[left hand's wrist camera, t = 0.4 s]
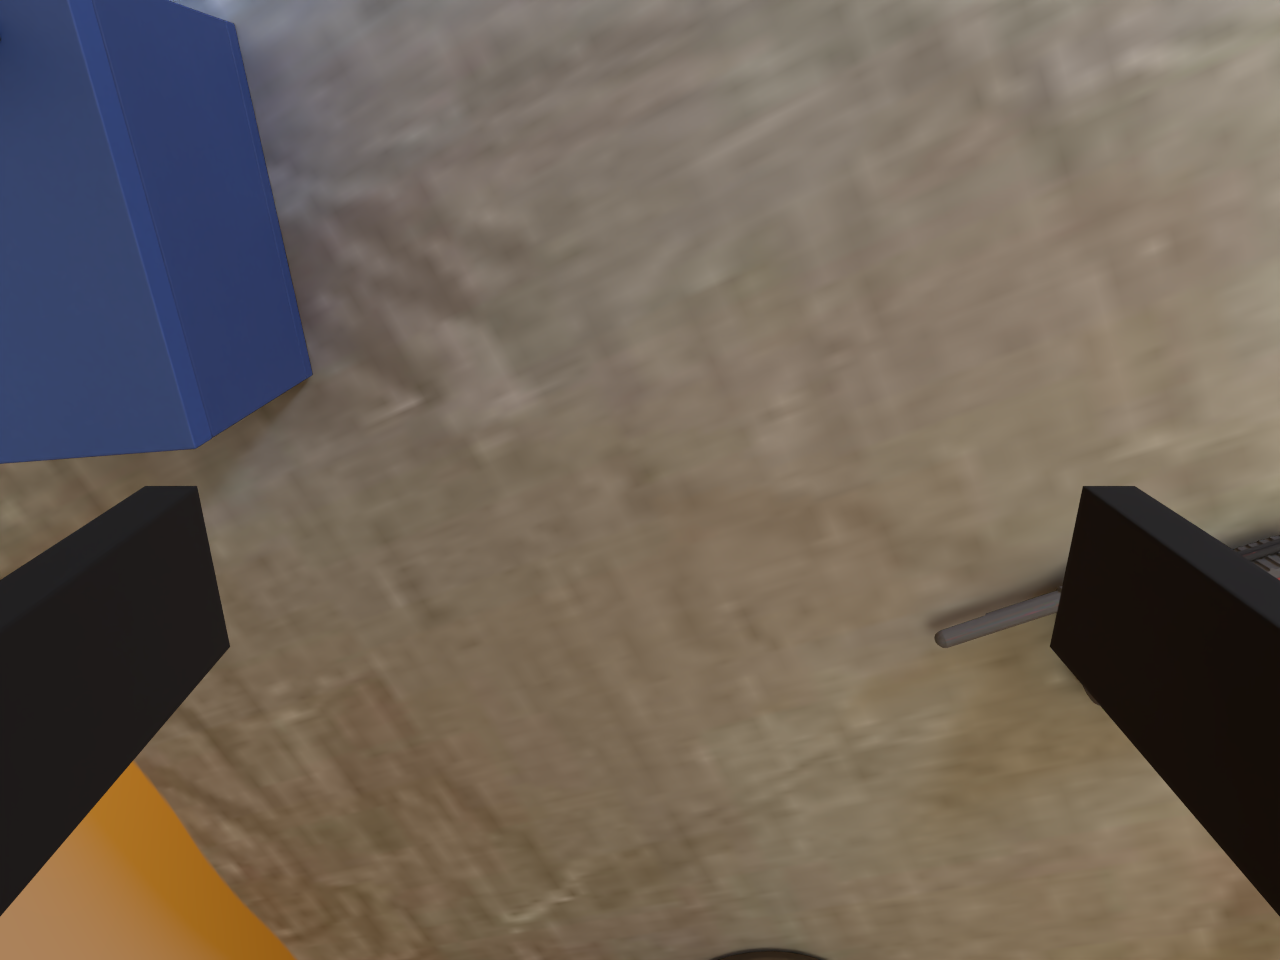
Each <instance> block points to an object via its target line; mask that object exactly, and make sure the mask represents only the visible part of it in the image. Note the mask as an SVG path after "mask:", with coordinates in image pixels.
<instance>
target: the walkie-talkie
mask: <svg viewBox="0 0 1280 960" xmlns="http://www.w3.org/2000/svg"><path fill="white" fill-rule="evenodd" d="M1234 551H1235V552H1237V553H1239V554H1240V555H1242V556H1243V557H1245V558H1246V559H1248V560H1249V561H1251V562H1252V563H1254V564H1256V565H1257V566H1259V567H1260V568H1262V569H1263V570H1265V571H1266V572H1268V573H1269V574H1271V575H1272V576H1274V577H1276V578H1277V579H1279V580H1280V534H1279V535H1277V536H1274V537H1273V536H1272V537H1269V538H1268V539H1265V540H1260V541H1258V542H1256V543H1253V544H1248V545H1246V546H1243V547H1238V548H1236V549H1234ZM1061 591H1062V586H1060V587H1058V588H1057V590H1056V591H1054V592H1051V593H1048V594H1045V595H1042V596H1038V597H1035V598H1032V599H1029V600H1026V601H1023V602H1020V603H1017V604H1014V605H1011V606H1008V607H1005V608H1001V609H998V610H995V611H992V612H989V613H986V615H985V616H982V617H979V618H976V619H973V620H970V621H967V622H964V623H961V624H958V625H955V626H952V627H949V628H946V629H943V630H941V631H939V632H937V633H936V634H935V641H936V643H937V644H938V645H939V646H941V647H942V648H948V647H951V646H955V645H958V644H961V643H964V642H967V641H970V640H973V639H976V638H979V637H982V636H985V635H988V634H992V633H995V632H998V631H1001V630H1004V629H1007V628H1010V627H1013V626H1016V625H1019V624H1022V623H1026V622H1029V621H1032V620H1035V619H1038V618H1041V617H1044V616H1047V615H1050V614H1053V613H1056V612H1057V610H1058V605H1059V600H1060V596H1061ZM1083 687H1084V686H1083ZM1084 689H1085V691H1086V693H1087V695H1088V696H1089V698H1090V699H1091V700H1092V701H1093V702H1094V703H1095V704H1097V705H1099V704H1098V702H1097V701H1096V700H1095V699H1094V698H1093V697H1092V695H1091V694H1090V693H1089V692H1088V691H1087V689H1086V688H1085V687H1084ZM1099 706H1100V705H1099Z"/></svg>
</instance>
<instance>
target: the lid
mask: <svg viewBox="0 0 1280 960" xmlns="http://www.w3.org/2000/svg"><path fill="white" fill-rule="evenodd" d="M210 439H212V436H211V432H210V429H209V425H208V421H207V418H206V414H205V410H204V407H203V403H202V400H201V396H200V392H199V389H198V385H197V381H196V378H195V374H194V370H193V367H192V363H191V360H190V356H189V352H188V349H187V345H186V341H185V338H184V334H183V330H182V327H181V323H180V320H179V316H178V312H177V309H176V305H175V301H174V298H173V294H172V291H171V287H170V283H169V280H168V276H167V272H166V269H165V265H164V261H163V258H162V254H161V251H160V247H159V243H158V240H157V236H156V232H155V229H154V225H153V221H152V218H151V214H150V211H149V207H148V203H147V200H146V196H145V192H144V189H143V185H142V182H141V178H140V174H139V171H138V167H137V163H136V160H135V156H134V152H133V149H132V145H131V142H130V138H129V134H128V131H127V127H126V123H125V120H124V116H123V112H122V109H121V105H120V102H119V98H118V94H117V91H116V87H115V83H114V80H113V76H112V72H111V69H110V65H109V62H108V58H107V54H106V51H105V47H104V43H103V40H102V36H101V33H100V29H99V25H98V22H97V18H96V14H95V11H94V7H93V3H92V0H0V464H3V463H16V462H30V461H43V460H56V459H69V458H82V457H95V456H108V455H121V454H134V453H147V452H160V451H173V450H186V449H196V448H197V447H199V446H201V445H202V444H204V443H205V442H207V441H209V440H210Z"/></svg>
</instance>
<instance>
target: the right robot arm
mask: <svg viewBox="0 0 1280 960" xmlns="http://www.w3.org/2000/svg"><path fill="white" fill-rule="evenodd" d="M719 960H819V959H816V958H813V957H810V956H806V955H801V954H796V953H789V952H775V951H764V952H751V953H743V954H738V955H733V956H729V957H726V958H722V959H719Z"/></svg>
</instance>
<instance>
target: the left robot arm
mask: <svg viewBox="0 0 1280 960" xmlns="http://www.w3.org/2000/svg"><path fill="white" fill-rule="evenodd" d="M229 647H230V644H229V639H228V634H227V630H226V625H225V620H224V615H223V610H222V605H221V601H220V596H219V591H218V586H217V581H216V576H215V571H214V567H213V562H212V557H211V552H210V547H209V542H208V537H207V533H206V528H205V523H204V518H203V513H202V508H201V503H200V499H199V494H198V489H197V486H145V487H143V488H142V489H140V490H139V491H137V492H135V493H134V494H132V495H131V496H129V497H128V498H126V499H125V500H123V501H122V502H120V503H119V504H117V505H115V506H114V507H112V508H111V509H109V510H108V511H106V512H105V513H103V514H102V515H100V516H98V517H97V518H95V519H94V520H92V521H91V522H89V523H88V524H86V525H85V526H83V527H82V528H80V529H78V530H77V531H75V532H74V533H72V534H71V535H69V536H68V537H66V538H65V539H63V540H61V541H60V542H58V543H57V544H55V545H54V546H52V547H51V548H49V549H48V550H46V551H45V552H43V553H41V554H40V555H38V556H37V557H35V558H34V559H32V560H31V561H29V562H28V563H26V564H24V565H23V566H21V567H20V568H18V569H17V570H15V571H14V572H12V573H11V574H9V575H8V576H6V577H4V578H3V579H1V580H0V916H1V915H2V914H3V913H4V911H5V910H6V909H7V908H8V907H9V906H10V904H11V903H12V902H13V901H14V900H15V898H16V897H17V896H18V895H19V894H20V893H21V891H22V890H23V889H24V888H25V887H26V886H27V884H28V883H29V882H30V881H31V880H32V878H33V877H34V876H35V875H36V874H37V873H38V871H39V870H40V869H41V868H42V867H43V866H44V864H45V863H46V862H47V861H48V860H49V859H50V857H51V856H52V855H53V854H54V853H55V852H56V850H57V849H58V848H59V847H60V846H61V844H62V843H63V842H64V841H65V840H66V839H67V837H68V836H69V835H70V834H71V833H72V832H73V830H74V829H75V828H76V827H77V826H78V824H79V823H80V822H81V821H82V820H83V819H84V817H85V816H86V815H87V814H88V813H89V812H90V810H91V809H92V808H93V807H94V806H95V805H96V803H97V802H98V801H99V800H100V799H101V797H102V796H103V795H104V794H105V793H106V792H107V790H108V789H109V788H110V787H111V786H112V785H113V783H114V782H115V781H116V780H117V779H118V777H119V776H120V775H121V774H122V773H123V772H124V770H125V769H126V768H127V767H128V766H129V765H130V763H131V762H132V761H133V760H134V759H135V758H136V756H137V755H138V754H139V753H140V752H141V751H142V749H143V748H144V747H145V746H146V745H147V743H148V742H149V741H150V740H151V739H152V738H153V736H154V735H155V734H156V733H157V732H158V731H159V729H160V728H161V727H162V726H163V725H164V724H165V722H166V721H167V720H168V719H169V718H170V716H171V715H172V714H173V713H174V712H175V711H176V709H177V708H178V707H179V706H180V705H181V704H182V702H183V701H184V700H185V699H186V698H187V697H188V695H189V694H190V693H191V692H192V691H193V689H194V688H195V687H196V686H197V685H198V684H199V682H200V681H201V680H202V679H203V678H204V677H205V675H206V674H207V673H208V672H209V671H210V669H211V668H212V667H213V666H214V665H215V664H216V662H217V661H218V660H219V659H220V658H221V657H222V655H223V654H224V653H225V652H226V651H227V650H228V648H229ZM1050 647H1051V648H1052V650H1053V651H1054V652H1055V653H1056V654H1057V655H1058V657H1059V658H1060V659H1061V660H1062V661H1063V662H1064V664H1065V665H1066V666H1067V667H1068V668H1069V669H1070V671H1071V672H1072V673H1073V674H1074V675H1075V677H1076V678H1077V679H1078V680H1079V681H1080V682H1081V684H1082V685H1083V686H1084V687H1085V688H1086V689H1087V691H1088V692H1089V693H1090V694H1091V695H1092V697H1093V698H1094V699H1095V700H1096V701H1097V702H1098V704H1099V705H1100V706H1101V707H1102V708H1103V709H1104V711H1105V712H1106V713H1107V714H1108V715H1109V716H1110V718H1111V719H1112V720H1113V721H1114V722H1115V724H1116V725H1117V726H1118V727H1119V728H1120V729H1121V731H1122V732H1123V733H1124V734H1125V735H1126V736H1127V738H1128V739H1129V740H1130V741H1131V742H1132V743H1133V745H1134V746H1135V747H1136V748H1137V749H1138V751H1139V752H1140V753H1141V754H1142V755H1143V756H1144V758H1145V759H1146V760H1147V761H1148V762H1149V763H1150V765H1151V766H1152V767H1153V768H1154V769H1155V770H1156V772H1157V773H1158V774H1159V775H1160V776H1161V778H1162V779H1163V780H1164V781H1165V782H1166V783H1167V785H1168V786H1169V787H1170V788H1171V789H1172V790H1173V792H1174V793H1175V794H1176V795H1177V796H1178V797H1179V799H1180V800H1181V801H1182V802H1183V803H1184V805H1185V806H1186V807H1187V808H1188V809H1189V810H1190V812H1191V813H1192V814H1193V815H1194V816H1195V817H1196V819H1197V820H1198V821H1199V822H1200V823H1201V825H1202V826H1203V827H1204V828H1205V829H1206V830H1207V832H1208V833H1209V834H1210V835H1211V836H1212V837H1213V839H1214V840H1215V841H1216V842H1217V843H1218V844H1219V846H1220V847H1221V848H1222V849H1223V850H1224V852H1225V853H1226V854H1227V855H1228V856H1229V857H1230V859H1231V860H1232V861H1233V862H1234V863H1235V864H1236V866H1237V867H1238V868H1239V869H1240V870H1241V871H1242V873H1243V874H1244V875H1245V876H1246V877H1247V879H1248V880H1249V881H1250V882H1251V883H1252V884H1253V886H1254V887H1255V888H1256V889H1257V890H1258V891H1259V893H1260V894H1261V895H1262V896H1263V897H1264V898H1265V900H1266V901H1267V902H1268V903H1269V904H1270V906H1271V907H1272V908H1273V909H1274V910H1275V911H1276V913H1277V914H1278V915H1279V916H1280V580H1279V579H1277V578H1276V577H1274V576H1272V575H1271V574H1269V573H1268V572H1266V571H1265V570H1263V569H1262V568H1260V567H1259V566H1257V565H1256V564H1254V563H1252V562H1251V561H1249V560H1248V559H1246V558H1245V557H1243V556H1242V555H1240V554H1239V553H1237V552H1235V551H1234V550H1232V549H1231V548H1229V547H1228V546H1226V545H1225V544H1223V543H1222V542H1220V541H1219V540H1217V539H1215V538H1214V537H1212V536H1211V535H1209V534H1208V533H1206V532H1205V531H1203V530H1202V529H1200V528H1198V527H1197V526H1195V525H1194V524H1192V523H1191V522H1189V521H1188V520H1186V519H1185V518H1183V517H1182V516H1180V515H1178V514H1177V513H1175V512H1174V511H1172V510H1171V509H1169V508H1168V507H1166V506H1165V505H1163V504H1161V503H1160V502H1158V501H1157V500H1155V499H1154V498H1152V497H1151V496H1149V495H1148V494H1146V493H1145V492H1143V491H1141V490H1140V489H1138V488H1137V487H1135V486H1083V489H1082V494H1081V499H1080V503H1079V508H1078V513H1077V518H1076V523H1075V528H1074V533H1073V537H1072V542H1071V547H1070V552H1069V557H1068V562H1067V567H1066V571H1065V576H1064V581H1063V586H1062V591H1061V596H1060V600H1059V605H1058V610H1057V615H1056V620H1055V625H1054V630H1053V634H1052V639H1051V644H1050Z"/></svg>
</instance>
